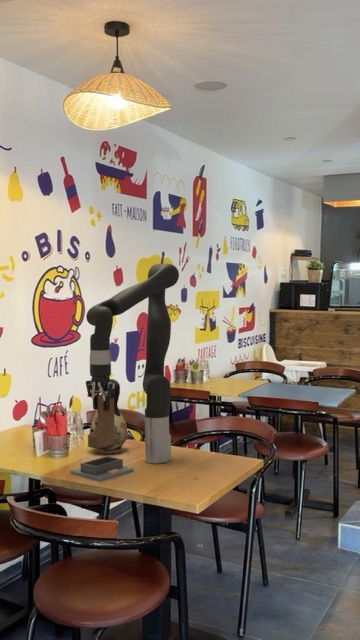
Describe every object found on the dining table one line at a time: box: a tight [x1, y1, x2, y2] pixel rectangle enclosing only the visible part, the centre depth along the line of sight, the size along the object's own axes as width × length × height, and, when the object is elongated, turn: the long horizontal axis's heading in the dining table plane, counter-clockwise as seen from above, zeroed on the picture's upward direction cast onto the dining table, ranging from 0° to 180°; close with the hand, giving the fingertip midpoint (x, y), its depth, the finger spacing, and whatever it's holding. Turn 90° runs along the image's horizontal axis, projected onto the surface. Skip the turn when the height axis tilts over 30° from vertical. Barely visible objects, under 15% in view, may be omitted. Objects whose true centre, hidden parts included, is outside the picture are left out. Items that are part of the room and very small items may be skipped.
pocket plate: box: [69, 455, 135, 482], centre depth 221 cm, size 16×16×4 cm
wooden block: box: [87, 394, 115, 450], centre depth 220 cm, size 9×4×18 cm, turn 137°
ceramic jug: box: [89, 378, 129, 454], centre depth 251 cm, size 17×15×30 cm
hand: (101, 410), depth 220 cm, fingers closed on wooden block, 4 cm apart
